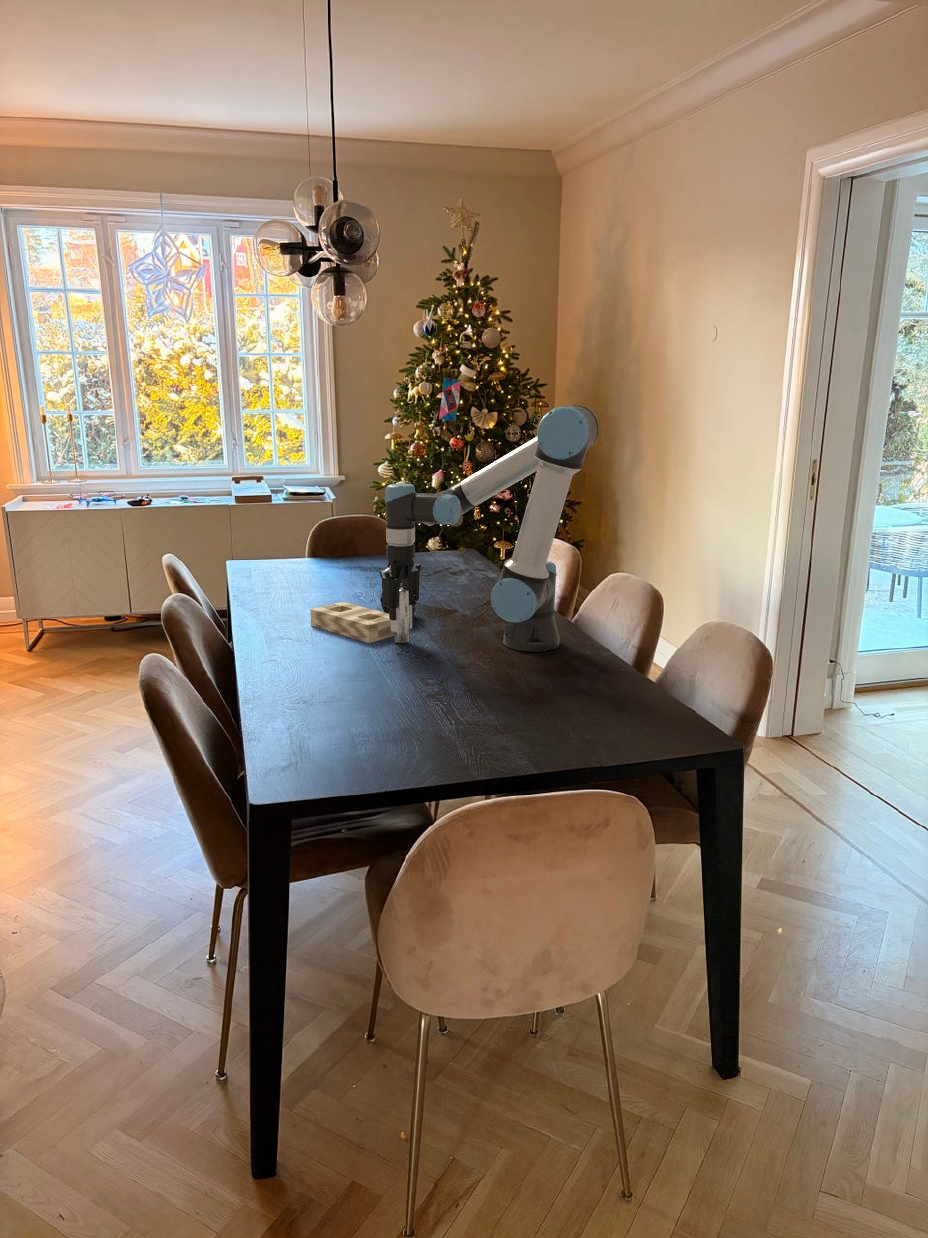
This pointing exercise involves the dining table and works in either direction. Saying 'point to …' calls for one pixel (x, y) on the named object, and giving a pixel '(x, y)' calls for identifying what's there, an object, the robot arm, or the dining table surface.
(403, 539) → the robot arm
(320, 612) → the hole block
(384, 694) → the dining table surface
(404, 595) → the steel pin
